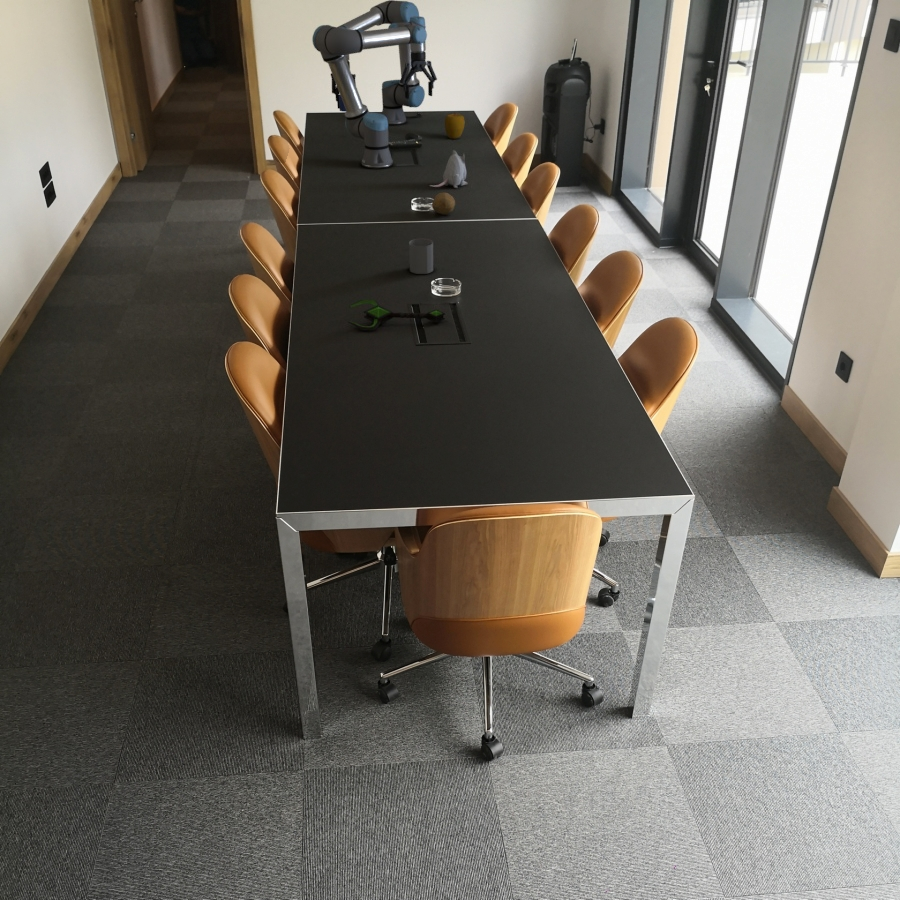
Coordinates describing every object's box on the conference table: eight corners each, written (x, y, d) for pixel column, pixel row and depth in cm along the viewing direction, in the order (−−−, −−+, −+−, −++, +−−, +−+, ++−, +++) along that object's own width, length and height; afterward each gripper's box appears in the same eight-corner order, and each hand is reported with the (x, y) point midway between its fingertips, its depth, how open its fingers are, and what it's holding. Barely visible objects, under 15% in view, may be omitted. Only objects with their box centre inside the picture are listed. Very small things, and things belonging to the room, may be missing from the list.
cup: (409, 265, 311) (408, 238, 306) (432, 265, 312) (431, 238, 307) (410, 274, 304) (409, 246, 299) (433, 273, 305) (433, 246, 299)
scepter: (445, 294, 271) (348, 292, 269) (446, 325, 264) (347, 323, 262) (443, 307, 276) (349, 305, 274) (445, 338, 269) (347, 336, 267)
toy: (472, 184, 399) (472, 151, 391) (436, 195, 384) (436, 161, 376) (457, 180, 404) (458, 147, 396) (422, 191, 389) (421, 157, 381)
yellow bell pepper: (464, 140, 471) (464, 115, 464) (444, 140, 471) (444, 115, 464) (464, 135, 480) (464, 111, 473) (444, 135, 480) (444, 111, 473)
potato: (453, 208, 369) (453, 189, 365) (456, 218, 357) (456, 199, 353) (431, 208, 368) (430, 189, 364) (432, 218, 356) (432, 199, 352)
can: (337, 110, 456) (336, 96, 452) (343, 108, 461) (342, 94, 457) (347, 111, 454) (346, 97, 450) (353, 109, 459) (352, 94, 455)
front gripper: (435, 48, 437) (436, 93, 448) (392, 52, 426) (393, 98, 437) (443, 50, 431) (443, 95, 443) (399, 54, 420) (400, 100, 432)
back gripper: (322, 61, 445) (325, 108, 458) (355, 63, 439) (358, 111, 451) (329, 58, 451) (332, 105, 463) (362, 61, 445) (364, 108, 457)
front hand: (418, 97), depth 440 cm, fingers open, 13 cm apart
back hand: (345, 108), depth 457 cm, fingers closed on can, 6 cm apart
